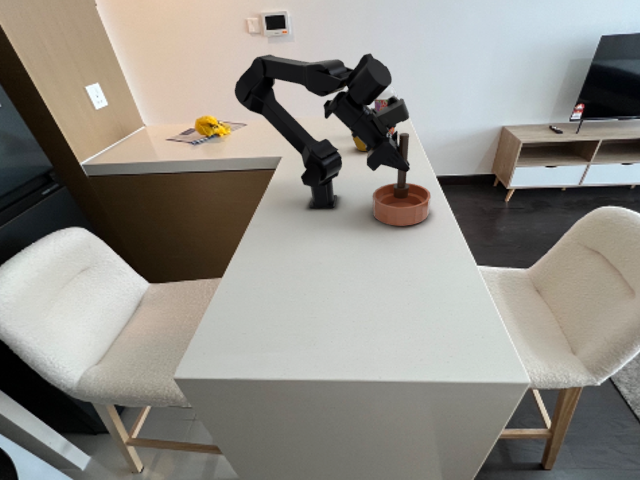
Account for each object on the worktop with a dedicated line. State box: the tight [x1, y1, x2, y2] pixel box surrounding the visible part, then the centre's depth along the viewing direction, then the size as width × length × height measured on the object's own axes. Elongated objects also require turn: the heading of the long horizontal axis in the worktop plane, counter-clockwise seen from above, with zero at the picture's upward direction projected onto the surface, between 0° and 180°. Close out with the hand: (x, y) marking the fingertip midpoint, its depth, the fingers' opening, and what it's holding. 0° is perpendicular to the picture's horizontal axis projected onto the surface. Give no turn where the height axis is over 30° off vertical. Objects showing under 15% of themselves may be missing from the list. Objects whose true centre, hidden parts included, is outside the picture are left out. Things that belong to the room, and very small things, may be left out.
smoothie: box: [373, 84, 399, 135], centre depth 123 cm, size 8×8×20 cm
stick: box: [393, 132, 410, 199], centre depth 76 cm, size 4×4×14 cm
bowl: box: [372, 182, 432, 227], centre depth 80 cm, size 13×13×5 cm
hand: (408, 168), depth 76 cm, fingers closed on stick, 2 cm apart
